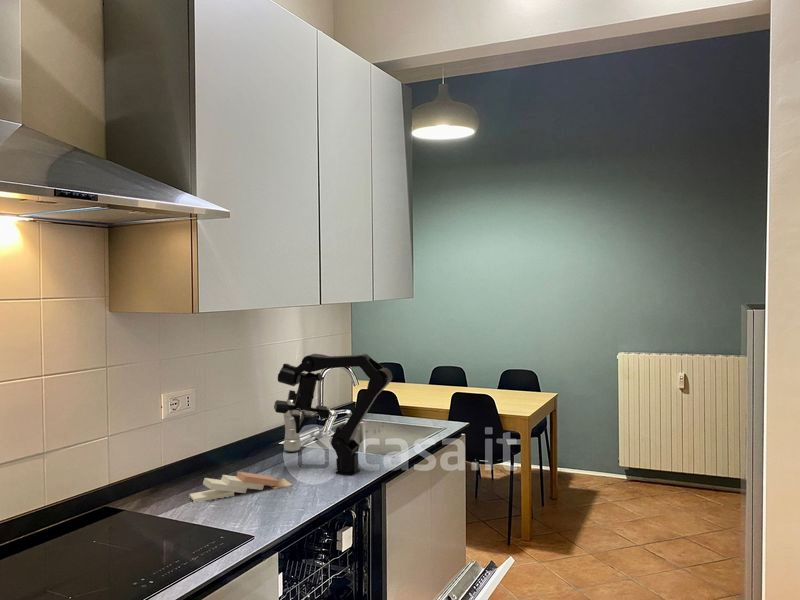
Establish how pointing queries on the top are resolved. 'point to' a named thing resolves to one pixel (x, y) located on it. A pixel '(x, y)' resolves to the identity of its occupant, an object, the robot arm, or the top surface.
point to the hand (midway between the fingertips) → (297, 433)
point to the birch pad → (282, 484)
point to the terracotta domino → (257, 479)
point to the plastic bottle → (291, 432)
